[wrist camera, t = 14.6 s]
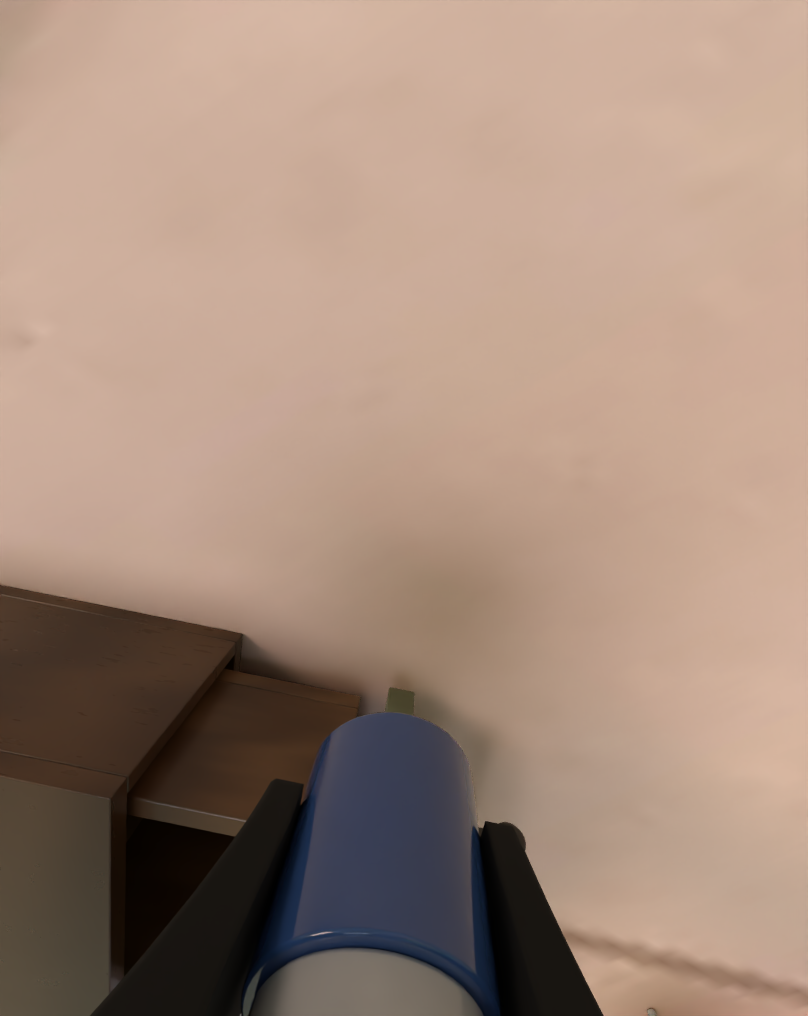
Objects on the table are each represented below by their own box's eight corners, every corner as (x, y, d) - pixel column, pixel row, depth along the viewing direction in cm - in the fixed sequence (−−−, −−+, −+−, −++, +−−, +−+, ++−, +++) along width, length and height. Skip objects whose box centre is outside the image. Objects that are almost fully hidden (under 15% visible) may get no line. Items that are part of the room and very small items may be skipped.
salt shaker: (502, 755, 10) (578, 1100, 5) (423, 861, 11) (421, 1234, 6) (356, 683, 9) (282, 973, 5) (288, 798, 10) (169, 1136, 6)
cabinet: (242, 633, 19) (109, 798, 11) (225, 812, 22) (109, 1046, 14) (-28, 579, 19) (-355, 704, 11) (-11, 764, 22) (-261, 969, 14)
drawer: (516, 712, 19) (564, 875, 12) (466, 870, 21) (483, 1075, 15) (153, 638, 19) (9, 762, 12) (148, 805, 21) (26, 980, 15)
